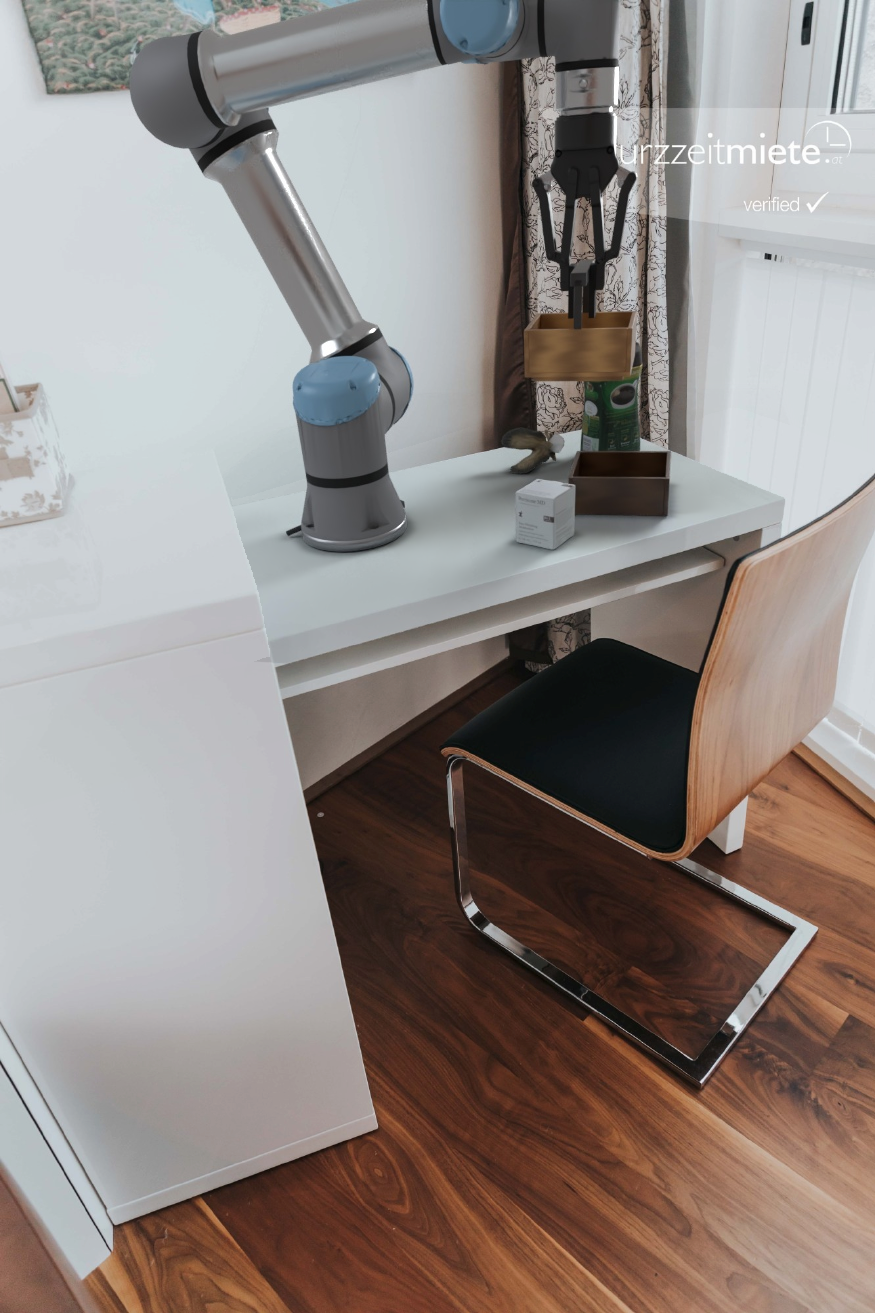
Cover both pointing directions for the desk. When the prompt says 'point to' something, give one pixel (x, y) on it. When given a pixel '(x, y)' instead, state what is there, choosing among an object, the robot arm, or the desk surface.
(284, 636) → the desk surface
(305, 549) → the desk surface
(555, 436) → the eagle figurine
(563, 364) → the box
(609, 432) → the coffee jar
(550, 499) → the product carton
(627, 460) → the dark brown wooden box
